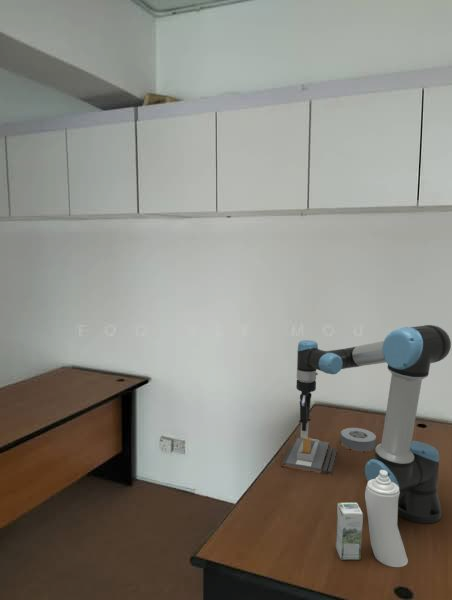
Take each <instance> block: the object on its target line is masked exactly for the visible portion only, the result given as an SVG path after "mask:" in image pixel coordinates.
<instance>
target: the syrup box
mask: <svg viewBox="0 0 452 600" xmlns="http://www.w3.org/2000/svg"><path fill="white" fill-rule="evenodd" d="M336 509H337V510H336V511H337V512H336V534H335V535H336V536H335V549H336V551H337V554H338V557H339V558H340V559H339V560H341V561H360V560H361V556H362V555H361V553H362V541H363V540H362V537H363V535H362V534H363V524H364V523H363V519H364V514H363V511H362V510H361V507H360V506H359V504H358V502H337V508H336Z"/></svg>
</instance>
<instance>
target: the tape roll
mask: <svg viewBox="0 0 452 600" xmlns="http://www.w3.org/2000/svg"><path fill="white" fill-rule="evenodd" d="M340 440H341V442H342V443H343V444H344V445H345V446H346V447H348V448H351V449H354V450H358V451H368V450H372V449H373V448H375V449H376V447H375V446H377V444H376V441H377V436H376V434H375V433H374V432H372V431H370V430H367V429H365V428H360V427H347V428H344V429H342V430H341V431H340ZM372 451H373V450H372Z"/></svg>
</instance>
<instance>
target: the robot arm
mask: <svg viewBox="0 0 452 600" xmlns="http://www.w3.org/2000/svg"><path fill="white" fill-rule="evenodd" d="M318 345H319V344H318V342H316V341H315V340H311V339H310V340H309V339H308V340H307V339H304V340H300V341H299V342H298V345H297V351H296V353H297V358H296V359H297V361H296V362H297V363H296V364H297V365H296V384H295V385H296V389H297V391H299V392H300V393H301V394H299V400H300V401H299V413H300V414H299V416H300V417H299V420H298V422H299V423H300V436H299V438H302V439H303V438H308V437H309V422H311V419H310V414H311V413H310V411H311V401H312V400H311V398H312V393H313V392H315V391H316V389H317V381H316V380H317V376H318V375H319V373H318V372H317V370H318V371H320V372H323V373H325V374H329V375H337V374H338V373H339V372H341V370H344V369H350V368H358V367H364V366H371V365H376V364H377V365H378V364H384V363H386V364H387V369H388V371H389V373H391V378H390V384H389V391H388V399H387V404H386V410H385V418H384V423H383V424H384V425H383V430H382V436H381V442H380V443H379V444H376V447H375V449H374V450H375V451H374V455H373V458H371V459H369V460H368V461H366V464H365V467H364V474H365V478H366V481H367V482H368V481H369V480H372V479H376V477H378V475H379V474H380V470H385V471H387V473H388V477H389V479H390V480H391V482H393V483H395V484H396V485H398V487H399V491H400V494H399V498H398V515H399V516H400V517H402V518H404V519H405V520H408V521H410V522H414V523H419V524H434V523H437V522H438V521H440V520H441V518H442V510H443V509H442V507H441V502H440V499H439V495H438V481H439V479H438V478H439V466H440V453H439V451H438V450H437V448H435V447H434V446H433V445H430V444H428V443H425V442H422V441H417V440H413V436H414V435H413V434H414V429H415V423H416V418H417V416H416V415H417V412H418V406H419V400H420V394H421V388H422V387H421V386H422V381H423V379H425V378H427V377H428V376H429V373H430V367H431V364H435V363H438V362H440V361H441V360H444V359H445V358H447V356H448V355H449V353H450V352H451V348H452V342H451V338H450V336H449V334H448V333H447V332H446V330H445V329H443V328H442V327H440V326H438V325H437V326H436V325H432V324H425V325H419V326H417V325H416V326H409V327H408V326H404V327H400V328H398V329H394V330H392V331H391V332H389V333H388V334H387V335H386V337H384V340H381V341H378V342H377V341H376V342H373V343H368V344H363V345H358V346H352V347H346V348H340V349H332V350H322V349H319V347H318Z"/></svg>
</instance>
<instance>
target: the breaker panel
mask: <svg viewBox="0 0 452 600" xmlns="http://www.w3.org/2000/svg"><path fill="white" fill-rule="evenodd" d="M328 445H329V446H330V442H329V441H321V440H320V439H316V438H311V450H310V451H311V453H310V454H306V453H303V438H300V437H297V438H296V440H295V444H294V446H291V445H290V446H289V447H288V451H287V453H286V454H285V456H284V458H283V460H282V462H281V465H282V464H283V465H285V464H286V465H290V466H296V467H300V468H305V469H310V470H315V471H320V472H321V473H323V472H324V473H327V475H328V474H331V473H332V474H333V470H334V466H335V462H336V458H335V456H336V457H337V454H336V452H337V453H338V448H333V447H329V448H328ZM327 449H328V451H327ZM332 451H333V452H332ZM326 452H327V454H326ZM331 454H332V456H331ZM325 456H326V458H325ZM330 458H331V460H330ZM324 459H325V461H324ZM334 461H335V462H334ZM329 462H330V463H329ZM323 463H324V464H323ZM333 465H334V466H333ZM322 466H323V468H322ZM328 466H329V467H328ZM321 469H322V471H321ZM327 469H328V471H327ZM332 469H333V470H332ZM332 474H331V475H332Z"/></svg>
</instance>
